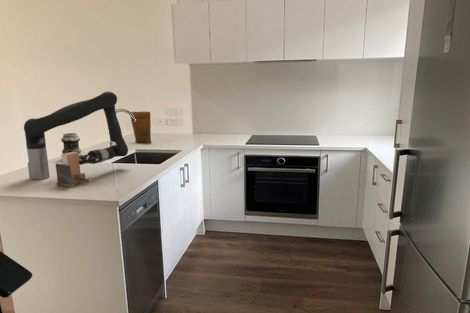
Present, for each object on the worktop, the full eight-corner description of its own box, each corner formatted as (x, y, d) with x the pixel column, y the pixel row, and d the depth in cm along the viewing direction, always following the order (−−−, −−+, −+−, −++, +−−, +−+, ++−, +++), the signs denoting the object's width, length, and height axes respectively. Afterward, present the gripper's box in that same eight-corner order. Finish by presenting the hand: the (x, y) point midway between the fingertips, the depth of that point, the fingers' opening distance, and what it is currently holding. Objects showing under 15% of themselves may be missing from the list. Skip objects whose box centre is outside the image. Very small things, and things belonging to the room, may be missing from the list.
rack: (76, 179, 187) (74, 159, 184) (89, 181, 182) (87, 161, 180) (56, 185, 176) (54, 164, 174) (70, 188, 172) (67, 166, 169)
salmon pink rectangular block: (76, 178, 183) (73, 151, 180) (81, 179, 181) (78, 152, 178) (64, 182, 176) (61, 154, 173) (69, 183, 175) (66, 155, 172)
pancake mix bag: (150, 144, 291) (148, 111, 285) (131, 143, 297) (128, 111, 291) (154, 143, 298) (152, 111, 292) (135, 142, 303) (133, 110, 297)
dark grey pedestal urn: (80, 160, 232) (78, 134, 228) (61, 161, 228) (58, 135, 224) (82, 156, 243) (80, 132, 239) (64, 158, 240) (61, 132, 236)
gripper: (88, 148, 195) (63, 153, 180) (106, 150, 189) (82, 156, 174) (89, 161, 196) (65, 167, 182) (108, 163, 190) (84, 170, 176)
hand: (74, 161), depth 178 cm, fingers open, 8 cm apart
